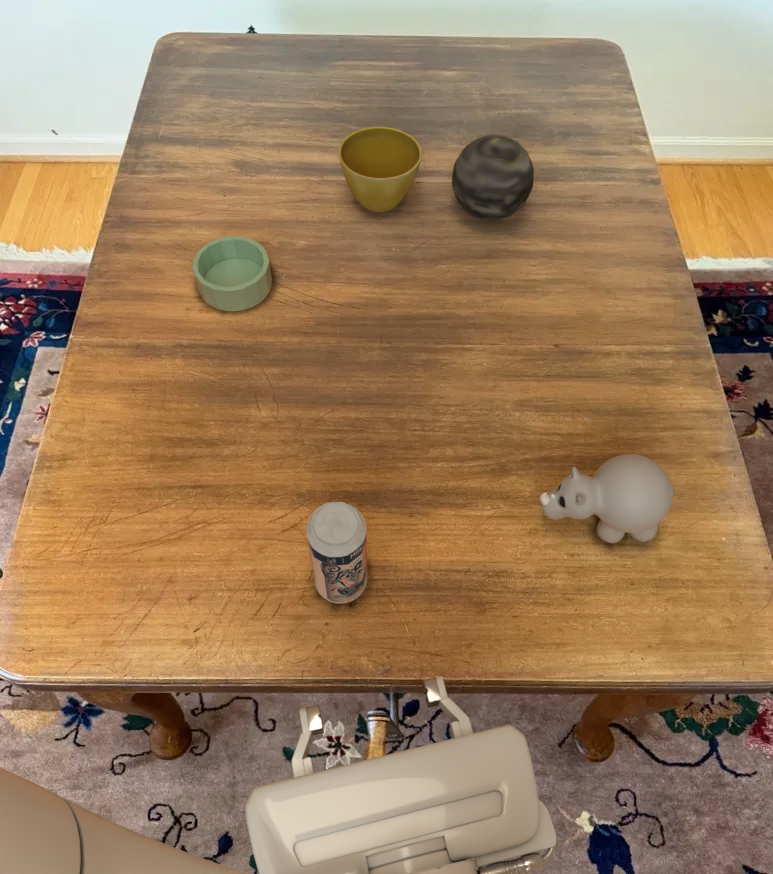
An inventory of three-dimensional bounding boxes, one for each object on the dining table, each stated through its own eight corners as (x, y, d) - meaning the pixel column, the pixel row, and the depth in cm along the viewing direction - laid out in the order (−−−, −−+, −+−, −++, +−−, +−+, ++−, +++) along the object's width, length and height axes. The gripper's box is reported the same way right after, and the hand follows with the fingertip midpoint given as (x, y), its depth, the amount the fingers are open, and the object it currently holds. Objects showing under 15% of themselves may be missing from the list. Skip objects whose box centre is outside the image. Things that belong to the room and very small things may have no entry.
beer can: (337, 616, 66) (331, 564, 56) (304, 578, 68) (292, 520, 58) (378, 582, 68) (378, 526, 58) (344, 546, 70) (340, 485, 60)
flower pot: (403, 167, 100) (405, 119, 94) (429, 216, 95) (433, 169, 88) (331, 182, 98) (328, 134, 92) (354, 233, 93) (352, 186, 87)
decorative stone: (539, 227, 94) (555, 160, 85) (466, 245, 92) (475, 178, 83) (506, 178, 99) (519, 110, 90) (436, 193, 97) (443, 125, 88)
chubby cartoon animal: (525, 485, 74) (542, 440, 67) (645, 484, 74) (674, 438, 67) (535, 552, 70) (553, 512, 63) (661, 550, 70) (693, 510, 63)
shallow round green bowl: (202, 316, 85) (196, 295, 82) (195, 263, 89) (189, 241, 86) (277, 304, 86) (273, 283, 83) (266, 253, 91) (263, 231, 88)
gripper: (576, 861, 47) (508, 650, 55) (257, 949, 45) (230, 715, 52) (556, 866, 53) (497, 673, 60) (270, 944, 50) (244, 733, 57)
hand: (371, 693), depth 56 cm, fingers open, 8 cm apart
